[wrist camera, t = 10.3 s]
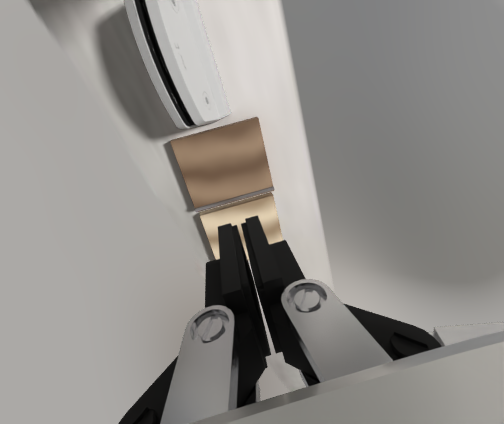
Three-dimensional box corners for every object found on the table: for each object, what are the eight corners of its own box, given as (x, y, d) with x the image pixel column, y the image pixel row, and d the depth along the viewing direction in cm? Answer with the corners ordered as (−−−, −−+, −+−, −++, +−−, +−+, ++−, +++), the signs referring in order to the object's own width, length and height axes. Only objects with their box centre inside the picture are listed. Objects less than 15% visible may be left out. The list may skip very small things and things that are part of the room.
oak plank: (200, 212, 44) (199, 216, 43) (271, 192, 45) (273, 195, 43) (218, 263, 49) (219, 268, 48) (283, 245, 50) (285, 249, 48)
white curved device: (232, 115, 39) (211, 132, 31) (203, 124, 40) (175, 141, 32) (188, -27, 32) (144, -57, 23) (155, -11, 33) (102, -34, 25)
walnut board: (171, 139, 39) (169, 142, 37) (256, 116, 40) (258, 118, 38) (196, 208, 44) (196, 213, 42) (271, 187, 45) (274, 191, 43)
